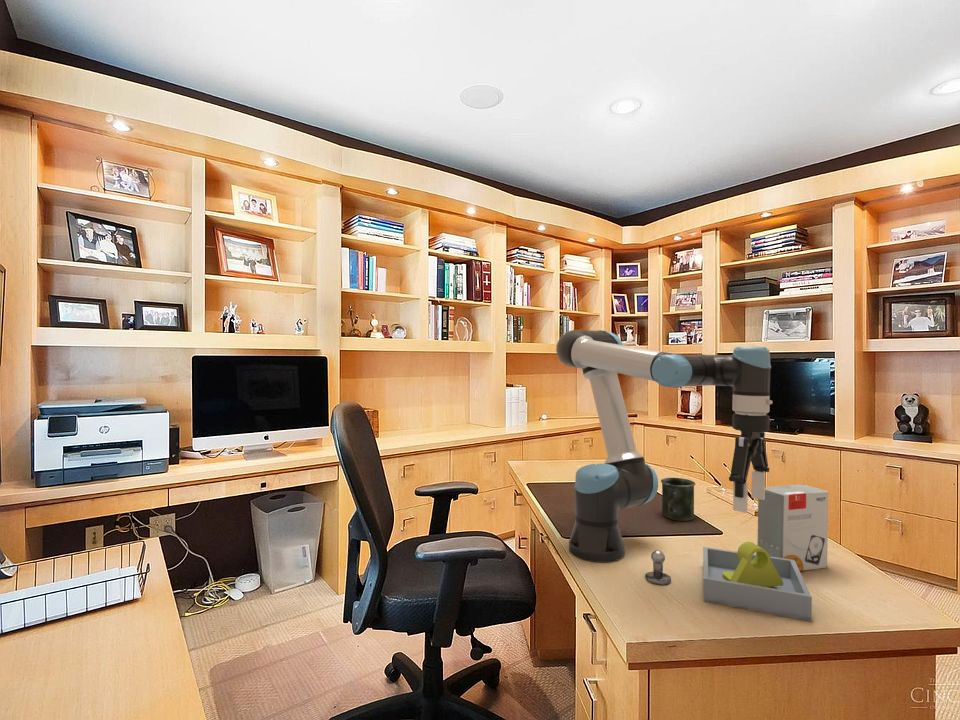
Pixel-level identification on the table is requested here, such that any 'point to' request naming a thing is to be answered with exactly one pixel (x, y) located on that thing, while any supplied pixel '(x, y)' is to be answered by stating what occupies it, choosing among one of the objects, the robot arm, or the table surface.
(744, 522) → the table surface
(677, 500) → the mug
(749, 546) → the bracket
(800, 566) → the hard drive box
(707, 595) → the bin
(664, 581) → the ball stud
